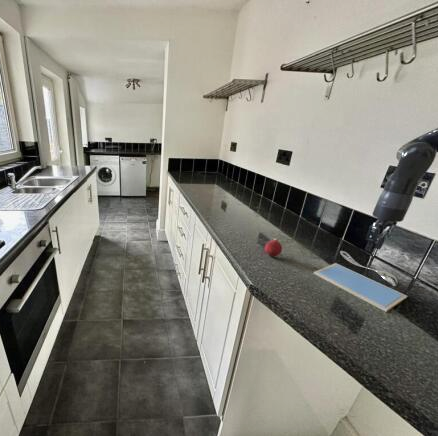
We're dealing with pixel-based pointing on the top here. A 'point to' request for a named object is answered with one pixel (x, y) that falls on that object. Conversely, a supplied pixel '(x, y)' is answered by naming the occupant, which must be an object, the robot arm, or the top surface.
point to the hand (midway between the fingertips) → (372, 249)
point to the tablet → (361, 286)
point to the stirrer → (387, 276)
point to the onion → (273, 248)
